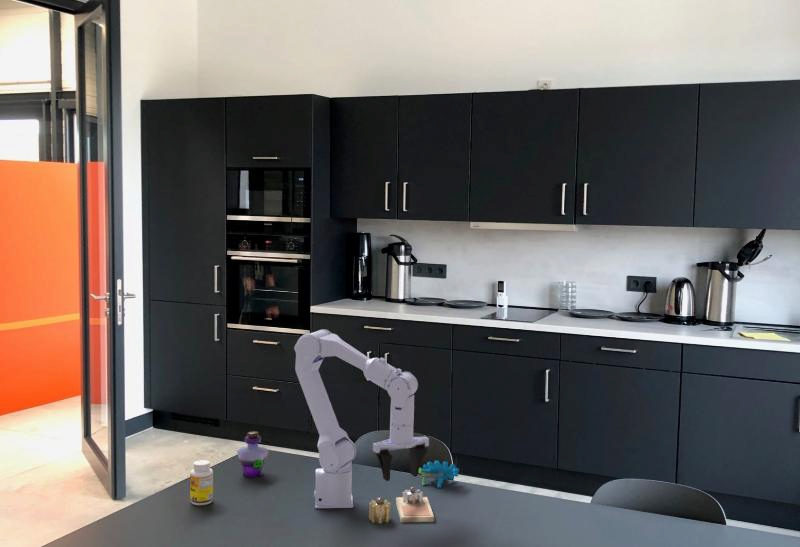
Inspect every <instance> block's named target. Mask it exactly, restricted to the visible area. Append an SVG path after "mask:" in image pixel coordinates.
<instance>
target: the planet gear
mask: <svg viewBox="0 0 800 547" xmlns="http://www.w3.org/2000/svg"><path fill="white" fill-rule="evenodd" d="M368 505H369V509H368V510H369V512H368V520H369V521H371V523H372V524H373V523H378V524H383V523H389V521H390V520H391V502H389V500H387V499H385V498H384V497H383V496H377V497H375V500H374V499H372V500H371V501H370V502H369V504H368Z"/></svg>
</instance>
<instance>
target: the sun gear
mask: <svg viewBox="0 0 800 547" xmlns="http://www.w3.org/2000/svg"><path fill="white" fill-rule="evenodd" d="M402 497H403V501H405V503H406V504H408V503H411V504H412V505H415V503H419V504H420V503H421V501H423V497H424V493H423V491H421V489H417V487H415V486H410V487H409V489H405V490H403V491H402Z"/></svg>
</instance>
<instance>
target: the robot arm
mask: <svg viewBox="0 0 800 547" xmlns="http://www.w3.org/2000/svg"><path fill="white" fill-rule="evenodd" d="M293 349H294V351H295V364H294V365H295V367H294V368H295V374H296V376H297V379H298V381H299V384H300V387H301V389H302V392H303V395H304V397H305V400H306V403H307V406H308V408H309V411H310V413H311V416H312V420H313V422H314V424H315V427H316V430H317V432H318V435H319V437H318V441H317V445H316V446H317V449H318V462H319V464H320V466H321V467H320V468H316V469H315V488H314V489H315V490H314V491H313V498H314V499H315V500H314V501H315V502H314V504H315V505H314V507H315V509H350V508H351V509H352V508H354V500H353V499H354V497H353V495H352V488H353V487H352V485H353V483H352V482H353V481H352V480H353V479H352V477H353V465H352V462H353V460H354V459H355V458H356V455H357V446H356V445H355V443H354V442H353V440H351V439H350V438H349V436H348V433H347V431H345V430H344V429H343V428H342V427H340V425H339V421H338V419H337V416H336V414H335V411H334V409H333V405H332V403H331V401H330V399H329V395H328V392H327V389H326V387H325V385H324V382H323V379H322V376H321V374H320V372H319V370H320V367H321V364H322V362H324V359H325V358H326V357H328V358H329V357H336V358H339V359H341V360H342V361H344V362H346V363H348V364H350V365H352V366H354V367H356V368H357V369H359V370H361V371H362V372H363V375H364V377H365V379H366V380H369V381H371V382H372V383H373V384H375V385H377V386H378V387H380V388H382V389H383V390H385V391H387V394H388V396H389V397H390V419H389V421H390V422H389V438H388V439H384V440H381V441H378V442H373V443H372V452H374V453H375V456H376V458H377V460H378V462H379V465H380V468H381V474H382V479H383V480H384V481H386V482H390V480H391V464H392V461H393V460H392V459H393V456H394V455H393V454H390V451H394V450H395V451H396V450H401V449H409V454H410V475H412V476H413V477H414V478H415V477H418V474H419V468H421V467H420V466H421V464H422V462H423V460H424V458H425V456H426V455H427V454H428V448H427V447H429V446H430V438H428V437H427V436H414V425H415V424H414V423H415V422H414V420H415V419H414V418H415V416H414V414H415V393H416V392H417V390H418V387H419V382H418V379H417V378H416V377H415V375H414V374H412V372H410V371H403V372H402V369H401V368H396V367H395V366H392V365H391V364H389V363H387V362H386V361H387V359H386V358H384V357H380V358H379V357H373V358H370V357H368V356H366V355H365V354H364V353H362V352H361V351H360V350H358V349H356V348H355V347H353V346H352V345H351V344H349V343H347V342H345V341H344V340H343V339H342V338H341V337H340V336H339V335H338V334H336V333H332V332H331V331H329V329H319V330H317V331H314V332H313V331H312V332H310V333H304V334H303V335H301V336H300V337H299V338H298V340H297V341H296V343H295V345H294V347H293Z"/></svg>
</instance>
